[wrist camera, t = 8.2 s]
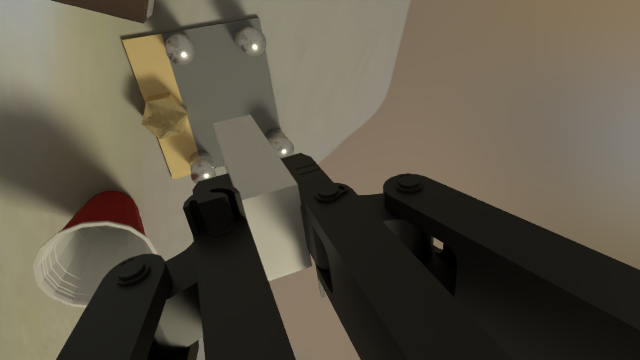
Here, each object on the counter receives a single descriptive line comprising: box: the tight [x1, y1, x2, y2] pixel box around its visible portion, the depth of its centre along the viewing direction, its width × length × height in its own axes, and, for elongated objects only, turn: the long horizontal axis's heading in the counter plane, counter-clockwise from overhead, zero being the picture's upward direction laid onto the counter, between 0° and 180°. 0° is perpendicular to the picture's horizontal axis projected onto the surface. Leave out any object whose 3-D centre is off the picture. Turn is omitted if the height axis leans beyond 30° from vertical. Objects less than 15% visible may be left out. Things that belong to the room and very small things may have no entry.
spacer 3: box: [234, 26, 266, 56], centre depth 41 cm, size 3×3×5 cm
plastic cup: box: [33, 191, 157, 307], centre depth 42 cm, size 11×11×12 cm
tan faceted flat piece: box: [141, 92, 188, 139], centre depth 43 cm, size 5×4×2 cm
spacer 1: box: [165, 32, 195, 65], centre depth 39 cm, size 3×3×5 cm
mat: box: [122, 18, 280, 179], centre depth 45 cm, size 15×17×1 cm
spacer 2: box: [190, 150, 216, 184], centre depth 46 cm, size 3×3×5 cm
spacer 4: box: [265, 128, 294, 158], centre depth 48 cm, size 3×3×5 cm
